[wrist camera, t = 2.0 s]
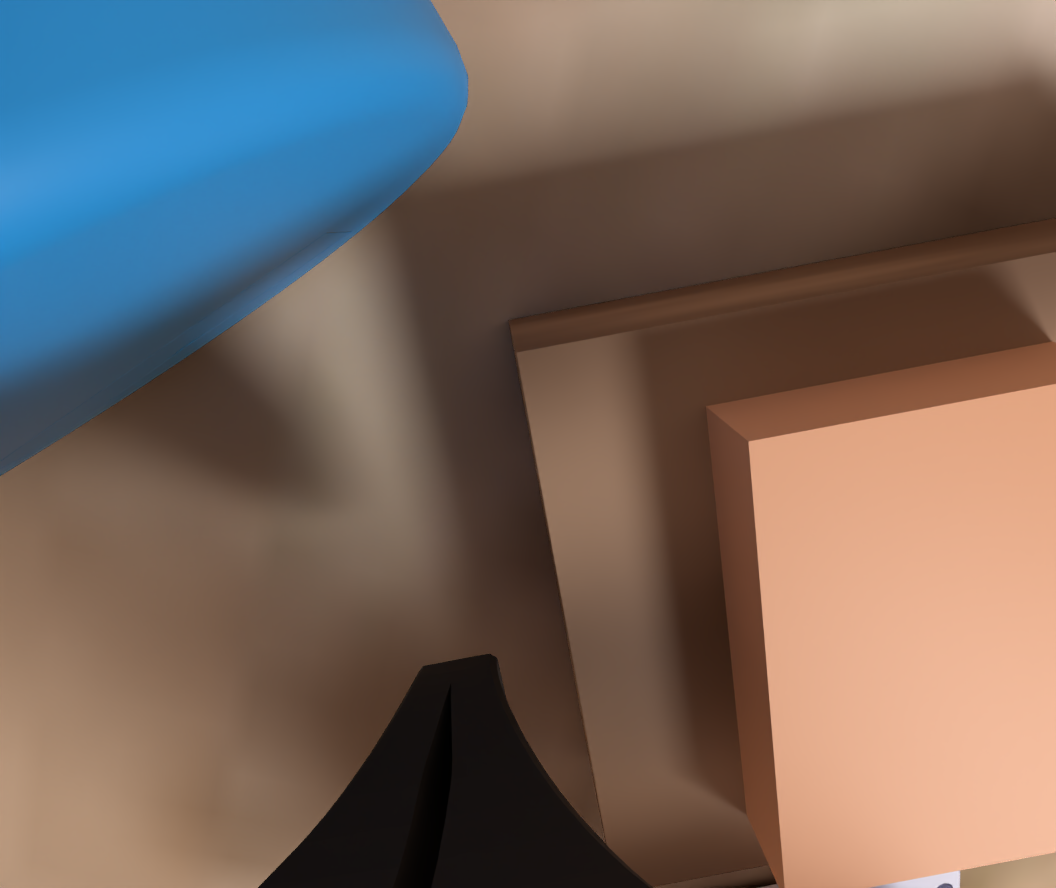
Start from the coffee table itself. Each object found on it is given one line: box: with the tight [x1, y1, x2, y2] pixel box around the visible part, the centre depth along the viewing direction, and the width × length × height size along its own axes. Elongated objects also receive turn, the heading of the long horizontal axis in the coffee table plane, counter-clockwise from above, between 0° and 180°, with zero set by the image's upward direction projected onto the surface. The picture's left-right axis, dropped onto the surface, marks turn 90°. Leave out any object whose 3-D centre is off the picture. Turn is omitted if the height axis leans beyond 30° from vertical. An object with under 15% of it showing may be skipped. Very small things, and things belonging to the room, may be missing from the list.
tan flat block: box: [508, 218, 1056, 887], centre depth 15 cm, size 12×14×4 cm
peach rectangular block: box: [706, 342, 1056, 888], centre depth 12 cm, size 9×6×2 cm, turn 10°
